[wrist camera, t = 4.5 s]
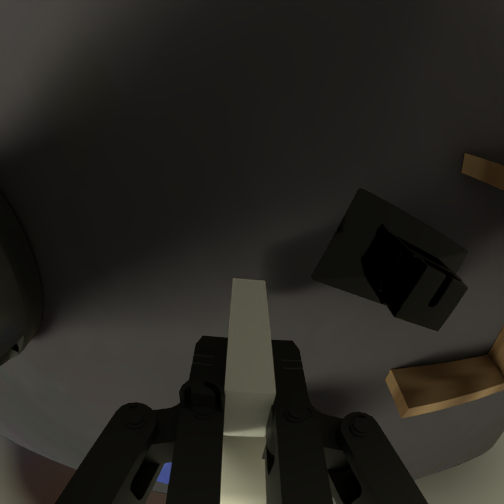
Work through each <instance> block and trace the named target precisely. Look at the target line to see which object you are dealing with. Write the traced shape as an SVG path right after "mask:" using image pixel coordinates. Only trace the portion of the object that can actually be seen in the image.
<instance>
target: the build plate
mask: <svg viewBox="0 0 504 504" xmlns="http://www.w3.org/2000/svg"><path fill="white" fill-rule="evenodd" d="M466 255H467V250H465V249H464V248H462V247H461V246H459V245H458V244H456V243H455V242H453V241H452V240H450V239H448V238H447V237H445V236H444V235H442V234H441V233H439V232H437V231H436V230H434V229H433V228H431V227H429V226H428V225H426V224H424V223H423V222H421V221H419V220H418V219H416V218H414V217H413V216H411V215H409V214H408V213H406V212H404V211H402V210H401V209H399V208H397V207H395V206H394V205H392V204H390V203H388V202H386V201H385V200H383V199H381V198H379V197H377V196H375V195H374V194H372V193H370V192H368V191H366V190H364V189H362V188H360V189H358V191H357V193H356V195H355V197H354V199H353V201H352V202H351V204H350V206H349V208H348V210H347V212H346V214H345V216H344V218H343V220H342V221H341V223H340V225H339V227H338V229H337V231H336V233H335V234H334V236H333V238H332V240H331V242H330V244H329V245H328V247H327V249H326V251H325V253H324V254H323V256H322V258H321V260H320V262H319V263H318V265H317V267H316V269H315V270H314V272H313V274H312V276H311V278H312V279H313V280H315V281H318V282H321V283H324V284H326V285H329V286H332V287H335V288H338V289H341V290H343V291H346V292H349V293H352V294H355V295H358V296H361V297H363V298H366V299H369V300H372V301H375V302H378V303H381V304H383V305H386V306H387V307H388V308H389V310H390V312H391V313H392V315H393V316H394V317H396V318H399V319H402V320H405V321H408V322H411V323H414V324H417V325H420V326H423V327H426V328H429V329H433V330H436V331H439V329H440V328H441V327H442V325H443V324H444V323H445V321H446V320H447V318H448V317H449V316H450V314H451V313H452V311H453V310H454V308H455V307H456V306H457V304H458V303H459V301H460V300H461V298H462V297H463V295H464V294H465V292H466V291H467V289H468V287H467V286H466V285H465V284H464V283H463V282H462V280H461V279H460V278H459V277H458V276H457V275H456V274H455V273H456V272H457V270H458V268H459V267H460V265H461V263H462V262H463V260H464V258H465V256H466Z"/></svg>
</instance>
